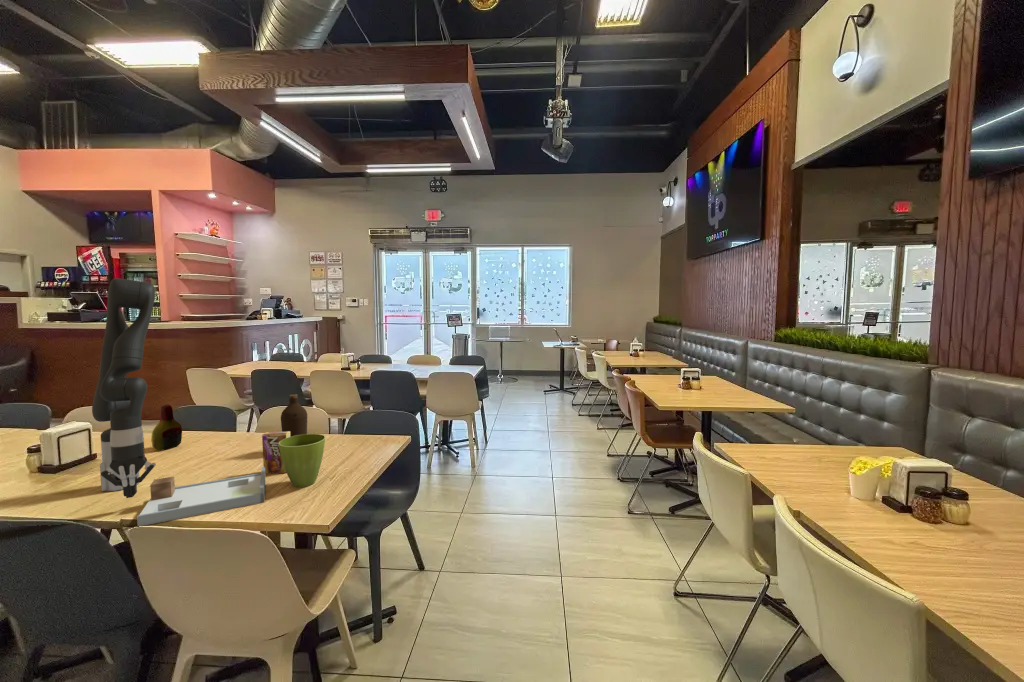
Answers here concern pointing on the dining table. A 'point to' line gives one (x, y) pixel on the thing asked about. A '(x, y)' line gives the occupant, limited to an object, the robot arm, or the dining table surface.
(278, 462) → the candy box
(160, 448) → the bottle
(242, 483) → the tray
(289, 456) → the flower pot
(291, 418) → the olive oil
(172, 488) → the walnut block
